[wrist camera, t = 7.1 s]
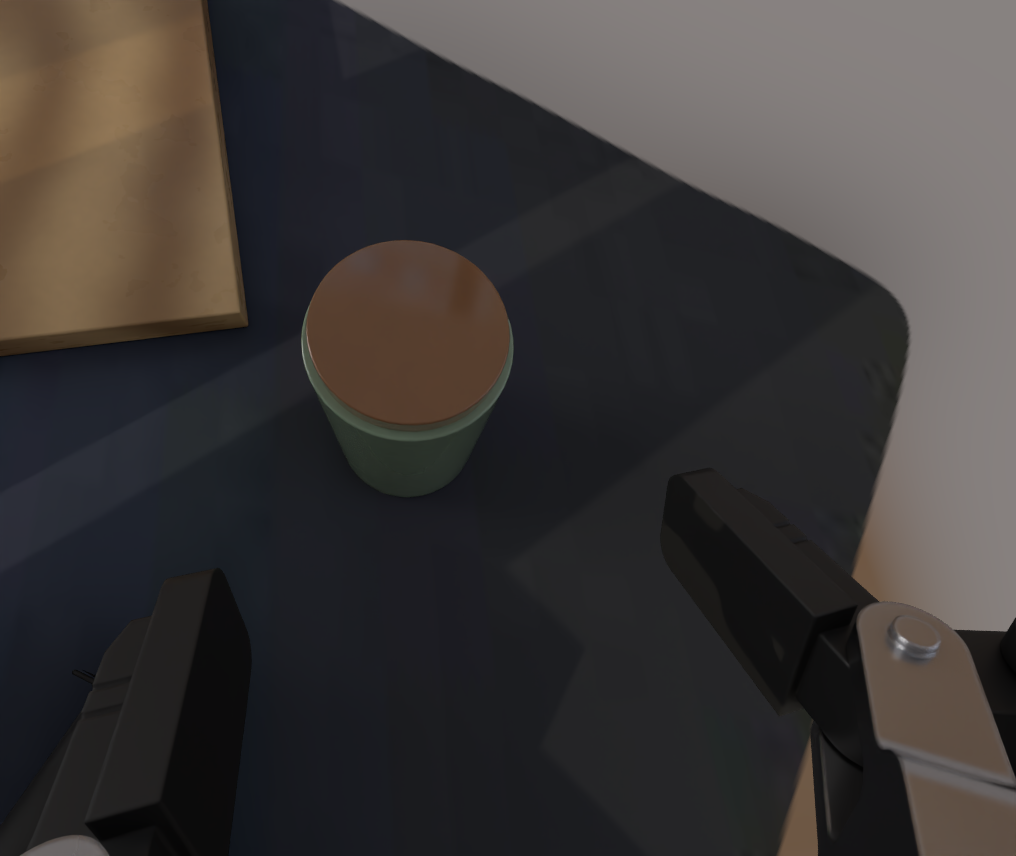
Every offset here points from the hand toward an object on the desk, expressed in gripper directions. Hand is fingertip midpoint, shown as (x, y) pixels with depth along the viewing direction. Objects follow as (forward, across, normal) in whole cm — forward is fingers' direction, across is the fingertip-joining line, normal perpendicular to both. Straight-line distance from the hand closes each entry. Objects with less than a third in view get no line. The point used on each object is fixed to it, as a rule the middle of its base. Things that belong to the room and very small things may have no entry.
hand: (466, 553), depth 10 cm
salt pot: (+11, 0, +4) cm, 11 cm away
